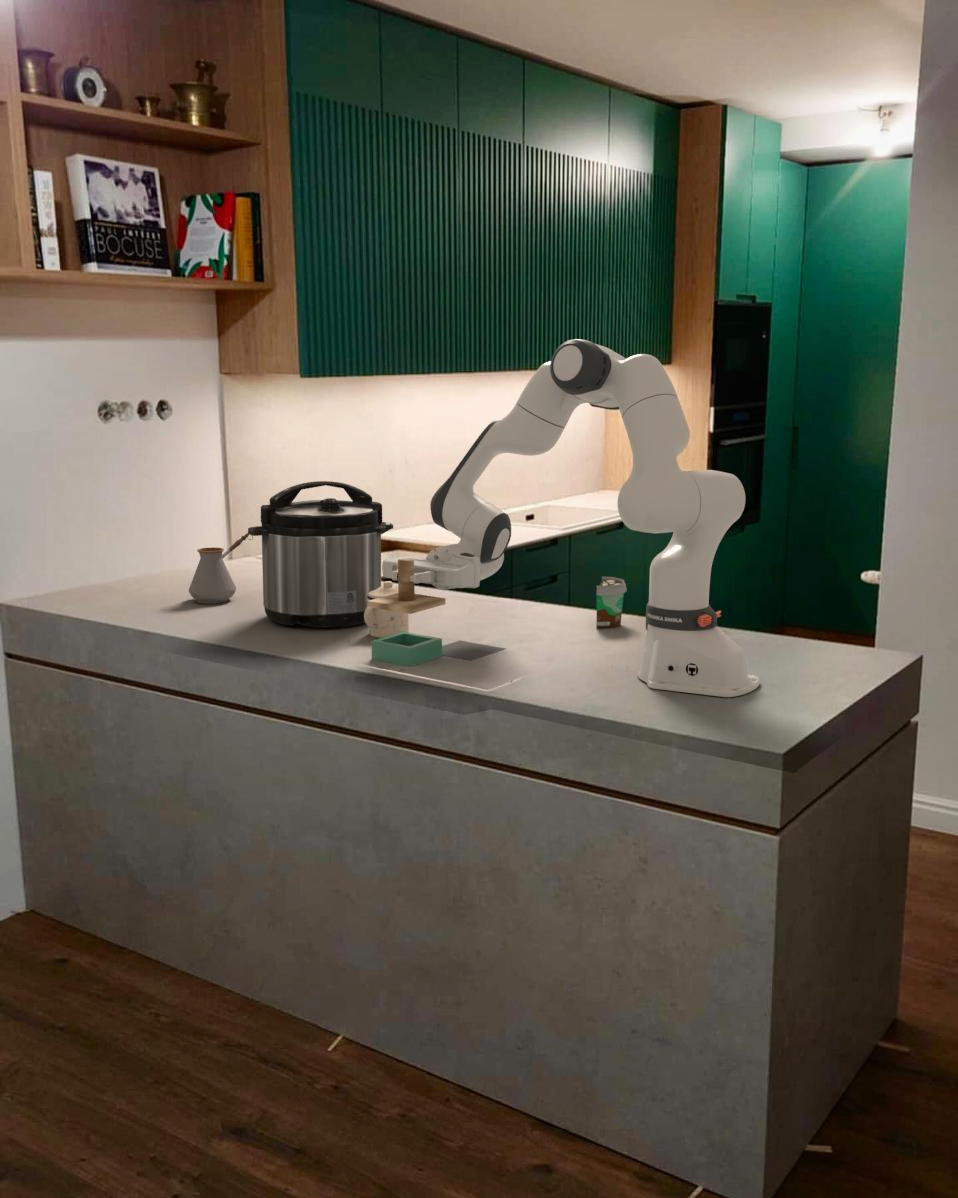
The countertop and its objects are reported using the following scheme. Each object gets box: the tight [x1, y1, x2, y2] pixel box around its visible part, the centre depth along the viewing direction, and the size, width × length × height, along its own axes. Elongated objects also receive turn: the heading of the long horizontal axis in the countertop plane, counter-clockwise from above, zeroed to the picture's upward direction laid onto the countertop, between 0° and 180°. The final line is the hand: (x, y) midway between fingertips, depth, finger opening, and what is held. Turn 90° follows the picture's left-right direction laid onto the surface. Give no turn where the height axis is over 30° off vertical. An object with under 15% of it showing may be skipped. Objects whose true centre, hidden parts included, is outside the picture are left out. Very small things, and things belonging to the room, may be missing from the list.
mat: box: [442, 640, 506, 662], centre depth 243 cm, size 12×12×1 cm
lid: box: [367, 559, 446, 615], centre depth 235 cm, size 11×11×9 cm
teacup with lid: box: [364, 580, 410, 639], centre depth 257 cm, size 12×9×12 cm
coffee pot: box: [188, 532, 254, 605], centre depth 297 cm, size 21×12×15 cm, turn 152°
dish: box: [370, 632, 443, 667], centre depth 237 cm, size 10×10×4 cm
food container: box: [595, 576, 628, 630], centre depth 267 cm, size 12×6×10 cm, turn 168°
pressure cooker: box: [247, 480, 394, 629], centre depth 272 cm, size 30×28×32 cm
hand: (403, 577), depth 234 cm, fingers closed on lid, 3 cm apart
